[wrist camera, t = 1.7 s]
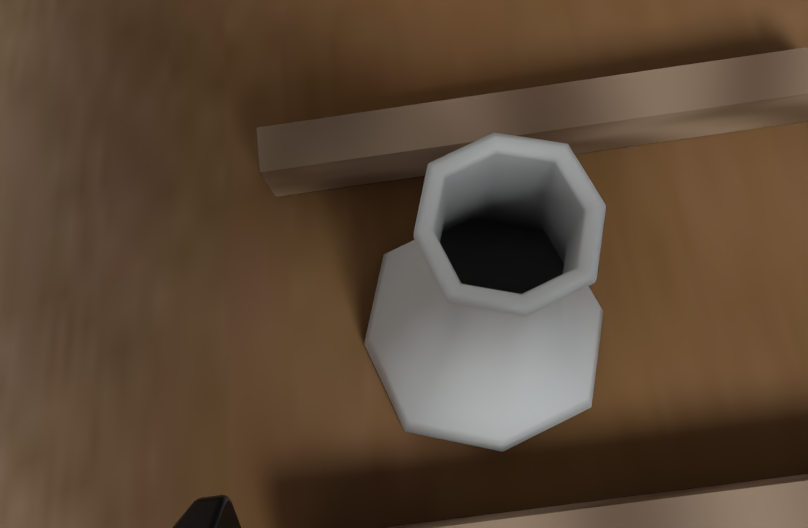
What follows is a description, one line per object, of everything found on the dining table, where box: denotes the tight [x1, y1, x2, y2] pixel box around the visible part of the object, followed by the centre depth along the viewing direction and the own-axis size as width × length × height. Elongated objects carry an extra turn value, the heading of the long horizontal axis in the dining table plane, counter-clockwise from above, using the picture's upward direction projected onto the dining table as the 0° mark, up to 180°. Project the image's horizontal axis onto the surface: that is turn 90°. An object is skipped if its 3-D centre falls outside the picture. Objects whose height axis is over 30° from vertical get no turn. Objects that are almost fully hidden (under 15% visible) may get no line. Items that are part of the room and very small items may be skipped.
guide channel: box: [256, 47, 808, 528], centre depth 20 cm, size 18×14×2 cm
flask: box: [364, 133, 606, 452], centre depth 16 cm, size 7×7×10 cm
